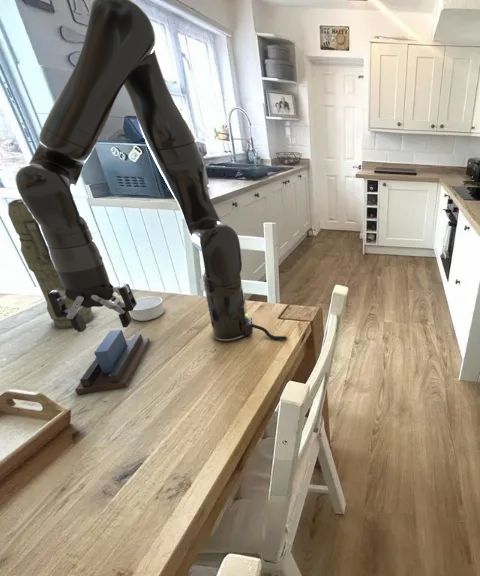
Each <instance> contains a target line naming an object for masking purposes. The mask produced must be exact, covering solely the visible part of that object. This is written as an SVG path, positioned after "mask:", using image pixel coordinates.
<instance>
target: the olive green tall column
mask: <svg viewBox="0 0 480 576" xmlns="http://www.w3.org/2000/svg"><path fill="white" fill-rule="evenodd" d="M7 205H8V206H7V207H8V208H7V209H8V210H7V213H8V217H9V219H10V221H11V224H12V226H13V228H14V231H15V233H16V234H17V235H18V239H19V241H20V252H21V255H22V257H23V258H24V260H25V263H26V265H27V267H28V270H30V271H31V272H32V273H33V275H34V277H35V279H36V281H37V283H38V286H39V288H40V291H41V292H42V295H43V297H44V299H45V301H46V302H45V303H46V309H47V313H48V315H49V317H50V319H51V320H52V321H53V324H54V326H55V327H56V328H59V329H69V328H73V326H72V324H71V322H70V319H68V318H67V317H60V318H58V317H56V316H55V313H54V311H53V308H52V305H51V303H50V300H49V298H48V294H49V293H50V292H52V291H53V290H54V289H56V288H59V289H60V290H66V289H65V288H64V287H63V285H62V282H61V280H60V278H59V276H58V273H57V271H56V269H55V266H54V264H53V262H52V259H51V257H50V253H49V249H48V246H47V244H46V242H45V239H44V237H43V235H42V232H41V230H40V226H39V224H38V222H37V221H36V220H35V218H34V217H33V216H32V214H31V213H30V211H29V210H28V208H27V207H26V205H25V203H24V202H23V200H22V198H19V199H14V200H12V201H9V202H8V204H7ZM64 300H65V302H66V305H67V308H68V309H71V307H72V305H73V303H74V301H72V300H71V299H69V298H68V297H65V298H64ZM92 309H93V307H90V308H85V307H83V306H82V308H81V310H80V311H79V313H78V314H81V315H82V318H83V320H84V322H85V324H87V323H89V322H90V321H92V320H93V319H94V317H95V315H94V313H93V311H92Z"/></svg>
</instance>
